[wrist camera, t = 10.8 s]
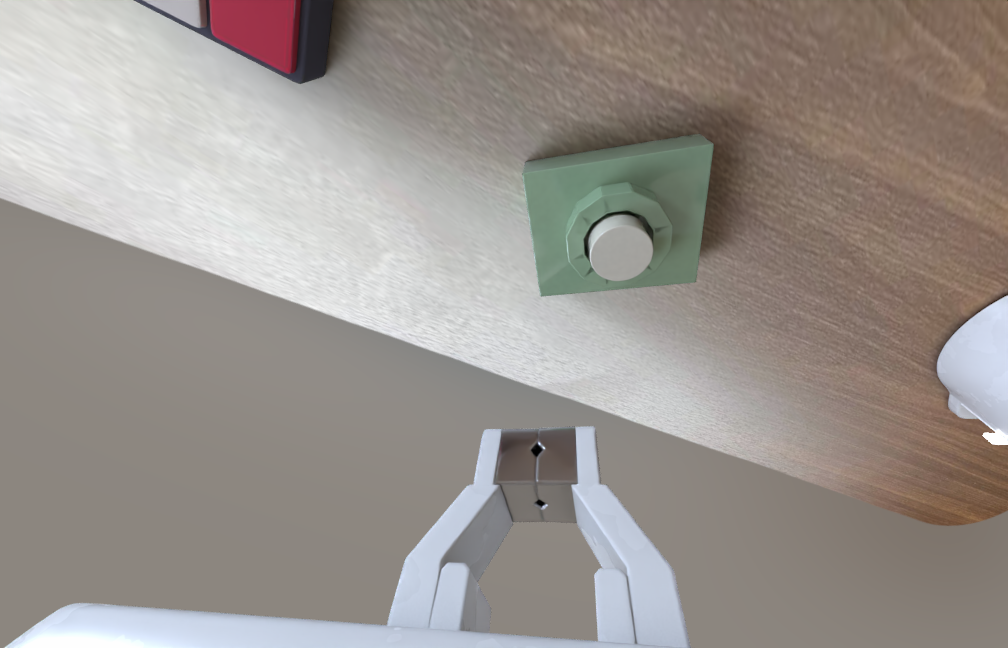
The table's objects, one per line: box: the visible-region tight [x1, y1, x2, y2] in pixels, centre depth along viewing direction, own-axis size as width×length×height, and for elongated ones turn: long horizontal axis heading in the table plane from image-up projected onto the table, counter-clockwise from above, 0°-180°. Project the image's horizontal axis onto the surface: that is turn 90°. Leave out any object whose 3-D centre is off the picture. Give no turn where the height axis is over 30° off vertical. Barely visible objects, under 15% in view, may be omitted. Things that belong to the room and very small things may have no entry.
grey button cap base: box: [522, 134, 714, 296], centre depth 28 cm, size 12×10×5 cm
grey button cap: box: [588, 214, 654, 281], centre depth 26 cm, size 4×4×2 cm
